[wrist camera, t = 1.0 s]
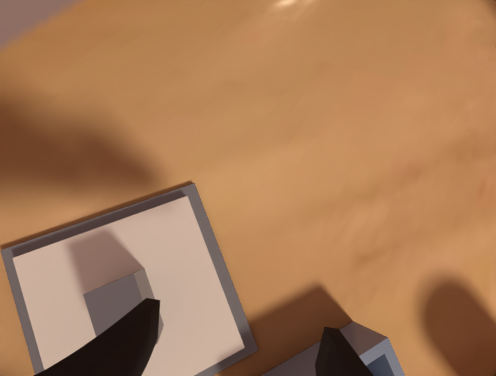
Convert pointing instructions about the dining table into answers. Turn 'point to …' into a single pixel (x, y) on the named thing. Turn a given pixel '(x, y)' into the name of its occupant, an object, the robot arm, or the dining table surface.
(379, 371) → the open box
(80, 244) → the lid
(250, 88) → the dining table surface
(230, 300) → the mat
